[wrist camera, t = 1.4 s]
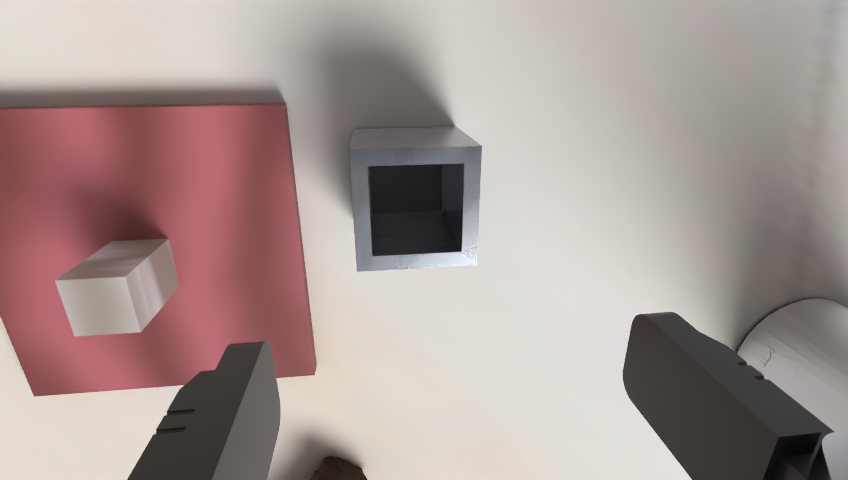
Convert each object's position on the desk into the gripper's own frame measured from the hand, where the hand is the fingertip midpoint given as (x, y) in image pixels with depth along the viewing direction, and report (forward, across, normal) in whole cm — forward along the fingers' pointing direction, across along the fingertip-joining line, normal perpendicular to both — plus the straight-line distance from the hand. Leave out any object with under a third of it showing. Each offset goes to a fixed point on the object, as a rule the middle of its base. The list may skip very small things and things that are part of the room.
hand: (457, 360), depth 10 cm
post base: (+16, +14, +4) cm, 22 cm away
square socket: (+16, 0, 0) cm, 16 cm away
